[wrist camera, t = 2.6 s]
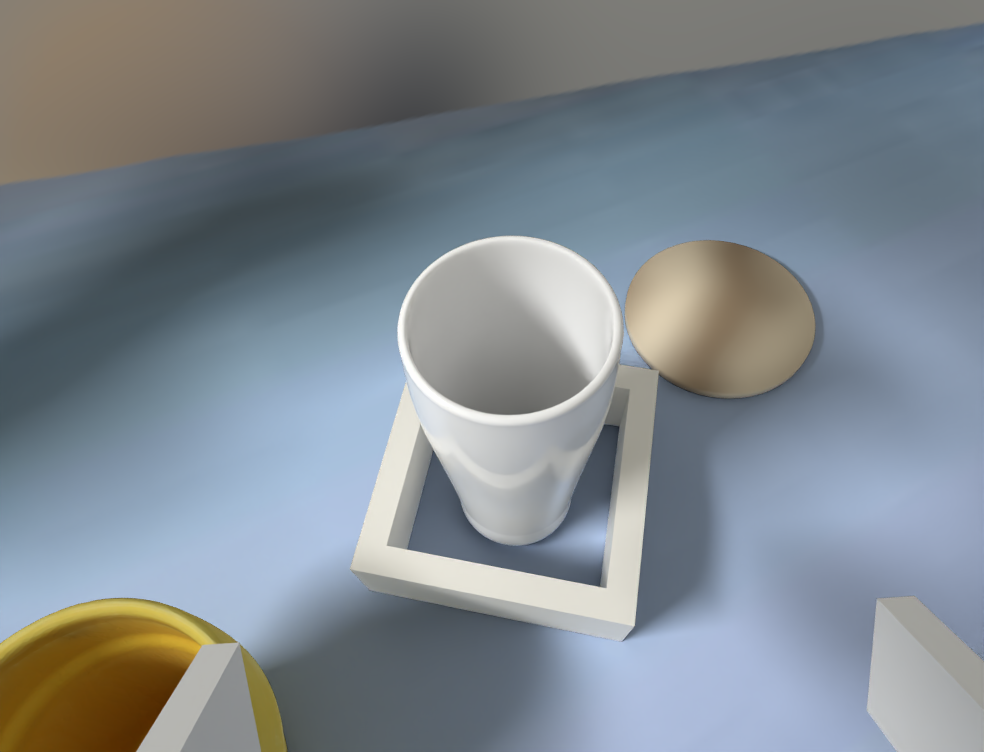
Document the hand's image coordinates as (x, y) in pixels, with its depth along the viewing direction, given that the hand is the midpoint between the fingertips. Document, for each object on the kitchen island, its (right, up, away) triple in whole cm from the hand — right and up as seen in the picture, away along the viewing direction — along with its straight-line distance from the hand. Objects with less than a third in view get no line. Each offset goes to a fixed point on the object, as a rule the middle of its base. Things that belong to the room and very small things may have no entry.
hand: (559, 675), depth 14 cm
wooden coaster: (+11, +9, +23) cm, 27 cm away
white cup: (0, 0, +19) cm, 19 cm away
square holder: (0, +1, +19) cm, 19 cm away
